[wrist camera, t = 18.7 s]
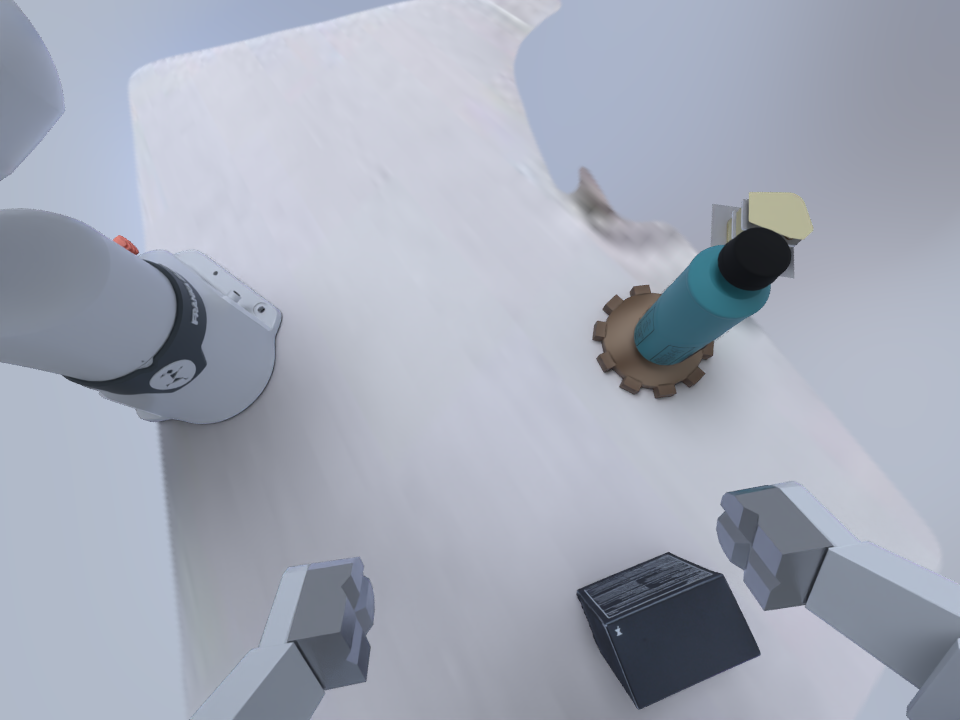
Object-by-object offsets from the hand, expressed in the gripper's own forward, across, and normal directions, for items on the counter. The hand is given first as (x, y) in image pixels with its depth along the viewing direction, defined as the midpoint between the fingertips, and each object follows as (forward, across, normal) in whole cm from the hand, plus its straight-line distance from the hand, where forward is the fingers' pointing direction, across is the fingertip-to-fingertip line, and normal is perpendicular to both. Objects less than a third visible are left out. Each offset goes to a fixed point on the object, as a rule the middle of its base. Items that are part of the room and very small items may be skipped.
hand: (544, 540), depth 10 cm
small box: (+18, -11, +35) cm, 41 cm away
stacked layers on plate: (+44, -36, +9) cm, 58 cm away
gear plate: (+36, -20, +17) cm, 44 cm away
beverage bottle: (+35, -20, +16) cm, 43 cm away
